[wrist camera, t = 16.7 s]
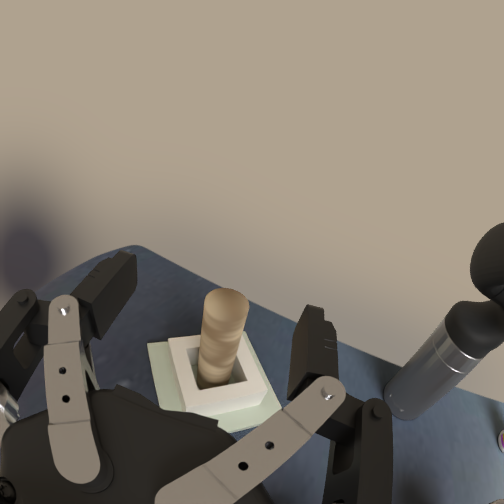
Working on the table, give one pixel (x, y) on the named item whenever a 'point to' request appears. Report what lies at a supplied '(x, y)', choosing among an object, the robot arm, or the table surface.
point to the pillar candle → (498, 501)
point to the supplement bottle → (501, 440)
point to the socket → (218, 398)
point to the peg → (220, 336)
